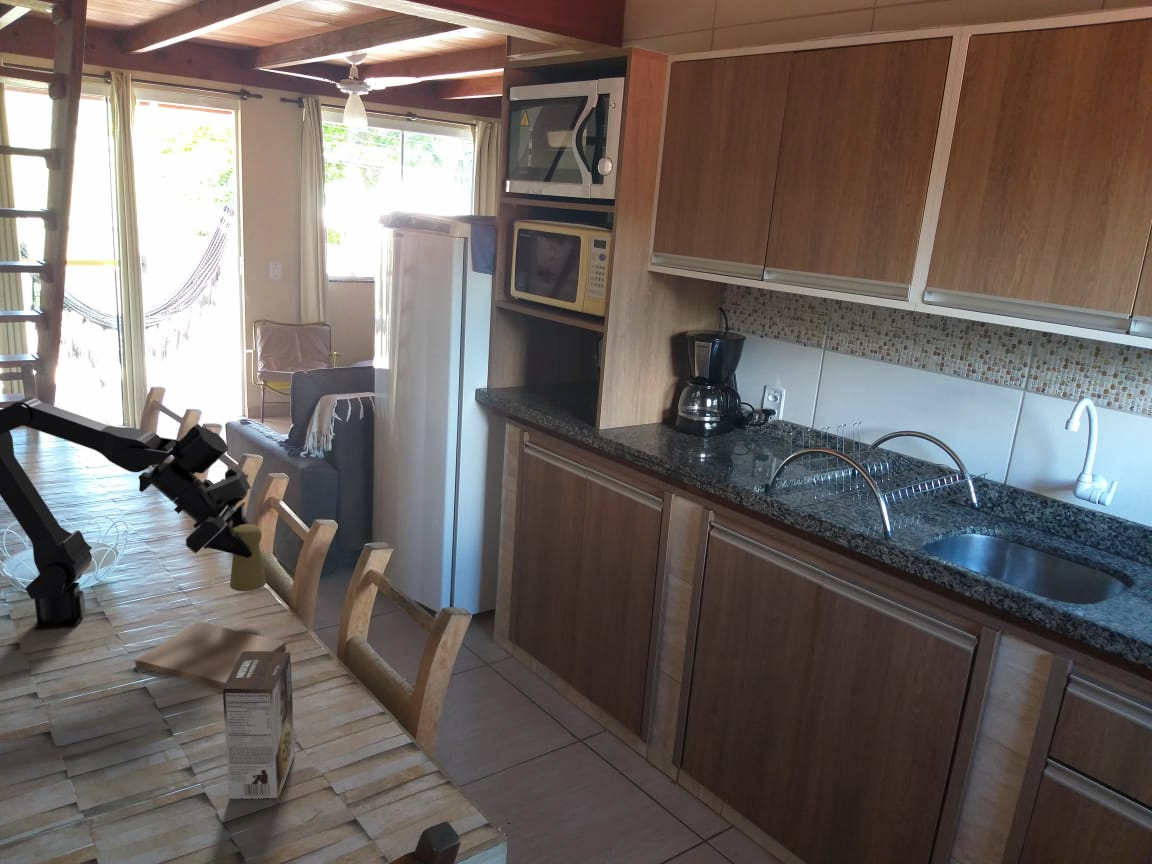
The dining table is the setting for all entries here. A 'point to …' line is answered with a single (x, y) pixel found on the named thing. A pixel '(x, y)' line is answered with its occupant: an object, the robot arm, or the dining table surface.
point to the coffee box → (259, 724)
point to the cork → (248, 561)
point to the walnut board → (205, 653)
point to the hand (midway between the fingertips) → (254, 549)
